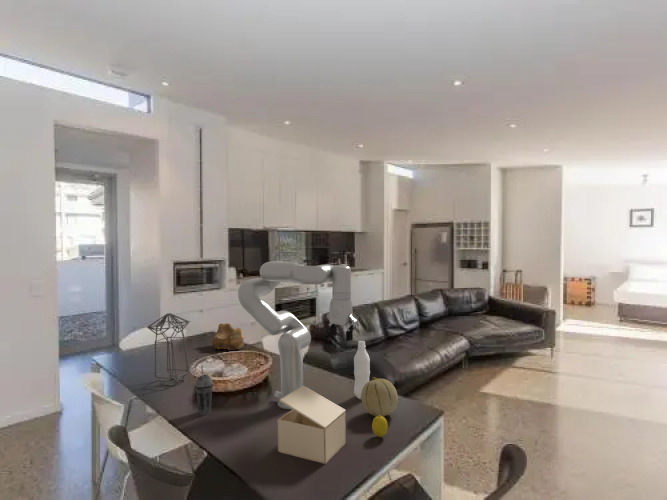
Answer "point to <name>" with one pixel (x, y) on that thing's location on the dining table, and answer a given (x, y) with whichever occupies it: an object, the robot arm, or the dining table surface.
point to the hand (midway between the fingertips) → (341, 338)
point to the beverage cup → (204, 393)
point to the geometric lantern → (170, 343)
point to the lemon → (379, 426)
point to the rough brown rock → (228, 337)
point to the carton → (310, 437)
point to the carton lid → (313, 406)
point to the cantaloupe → (379, 397)
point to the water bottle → (361, 369)
